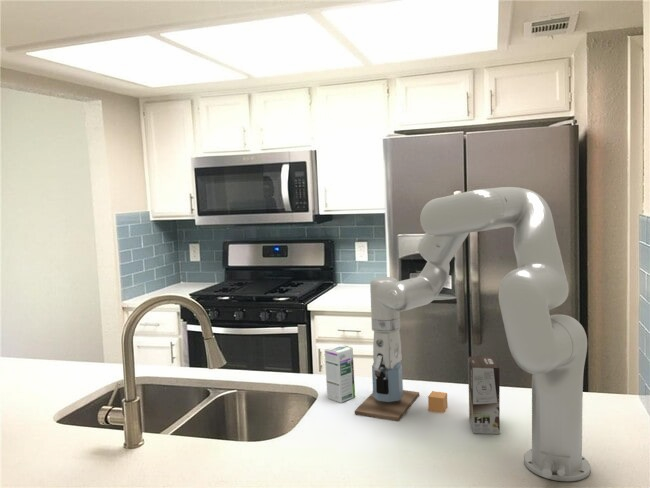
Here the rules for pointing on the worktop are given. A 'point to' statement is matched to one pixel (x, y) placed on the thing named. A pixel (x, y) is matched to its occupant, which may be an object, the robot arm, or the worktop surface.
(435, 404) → the block
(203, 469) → the worktop surface
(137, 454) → the worktop surface
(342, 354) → the syrup box
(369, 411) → the board
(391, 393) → the cup
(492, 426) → the coffee box
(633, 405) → the worktop surface
